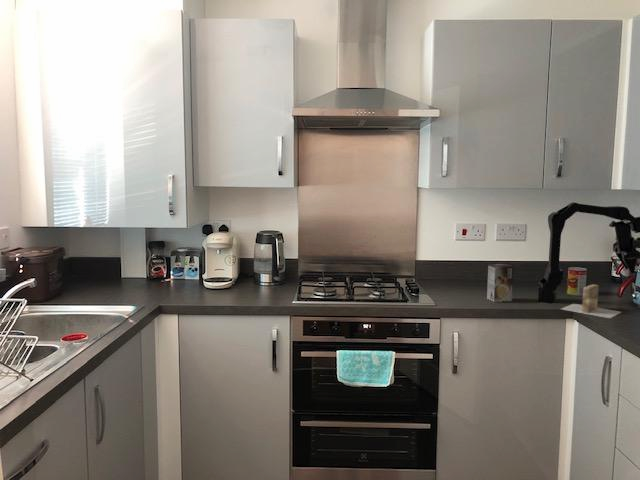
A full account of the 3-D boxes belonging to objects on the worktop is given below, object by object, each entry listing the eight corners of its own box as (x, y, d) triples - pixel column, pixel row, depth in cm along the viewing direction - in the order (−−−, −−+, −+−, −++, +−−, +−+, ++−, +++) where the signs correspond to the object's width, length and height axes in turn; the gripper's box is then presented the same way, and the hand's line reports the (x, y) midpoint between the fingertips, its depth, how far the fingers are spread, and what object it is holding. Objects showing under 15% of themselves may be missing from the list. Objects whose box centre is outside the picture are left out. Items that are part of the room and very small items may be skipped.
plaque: (581, 311, 214) (582, 287, 213) (590, 307, 221) (591, 284, 219) (588, 312, 212) (589, 288, 211) (597, 308, 219) (598, 285, 218)
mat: (560, 310, 218) (560, 309, 218) (573, 304, 228) (573, 303, 227) (609, 319, 204) (609, 318, 204) (621, 313, 214) (621, 311, 214)
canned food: (573, 291, 255) (575, 266, 254) (588, 294, 248) (590, 269, 247) (563, 292, 251) (564, 268, 250) (578, 296, 244) (579, 270, 243)
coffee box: (504, 298, 239) (506, 263, 237) (512, 301, 233) (514, 265, 231) (486, 299, 238) (487, 264, 236) (493, 302, 231) (495, 266, 229)
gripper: (651, 234, 212) (658, 272, 213) (639, 229, 229) (644, 263, 230) (621, 239, 215) (627, 276, 216) (610, 233, 233) (616, 267, 234)
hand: (629, 270), depth 224 cm, fingers open, 9 cm apart
